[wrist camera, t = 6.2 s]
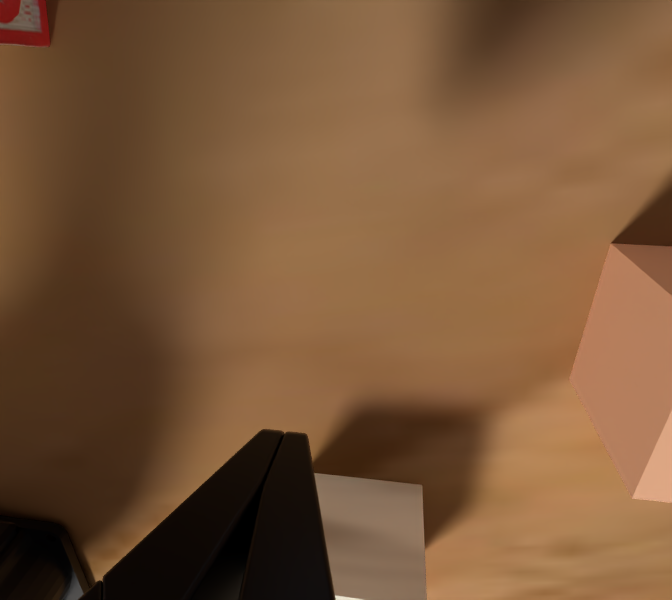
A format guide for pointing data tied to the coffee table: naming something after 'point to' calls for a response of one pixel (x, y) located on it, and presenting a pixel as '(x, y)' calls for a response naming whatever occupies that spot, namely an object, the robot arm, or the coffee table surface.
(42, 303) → the coffee table surface
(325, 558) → the robot arm
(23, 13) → the stack of blocks
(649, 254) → the terracotta block
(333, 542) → the cream block
